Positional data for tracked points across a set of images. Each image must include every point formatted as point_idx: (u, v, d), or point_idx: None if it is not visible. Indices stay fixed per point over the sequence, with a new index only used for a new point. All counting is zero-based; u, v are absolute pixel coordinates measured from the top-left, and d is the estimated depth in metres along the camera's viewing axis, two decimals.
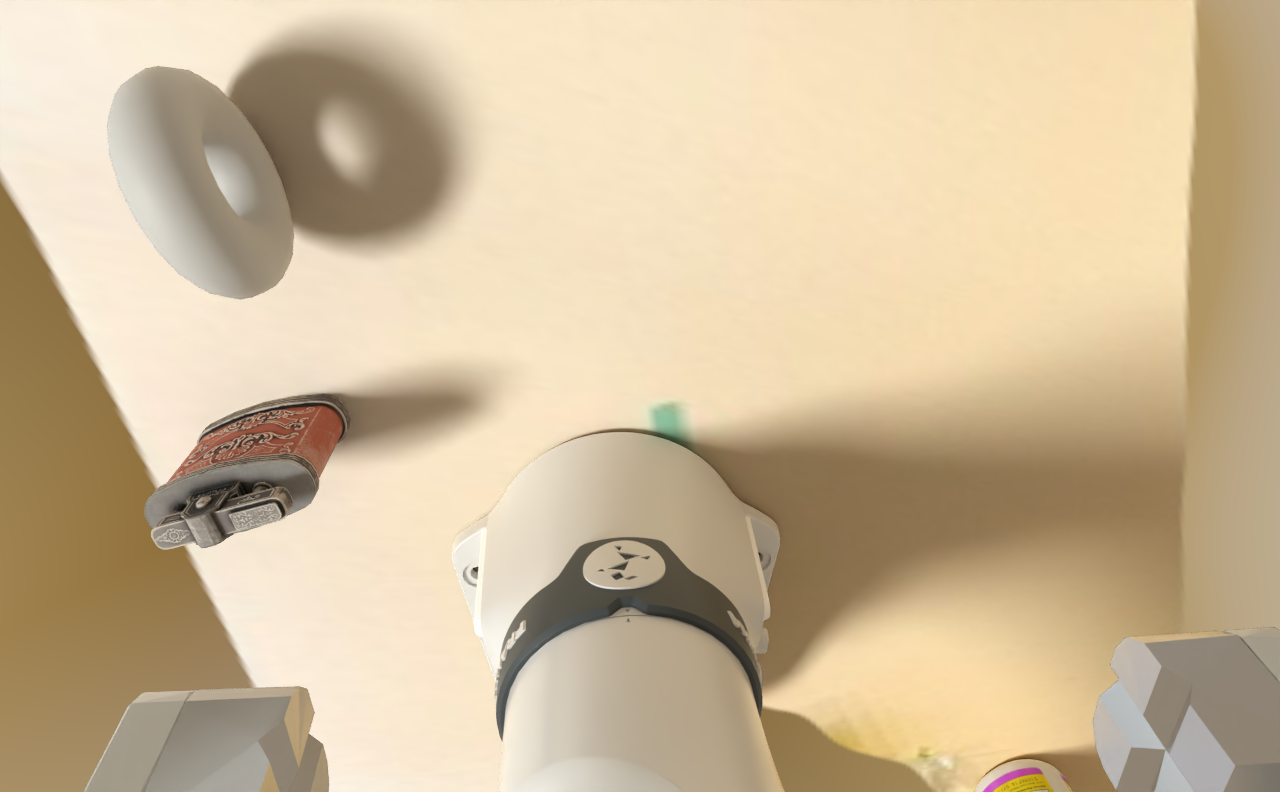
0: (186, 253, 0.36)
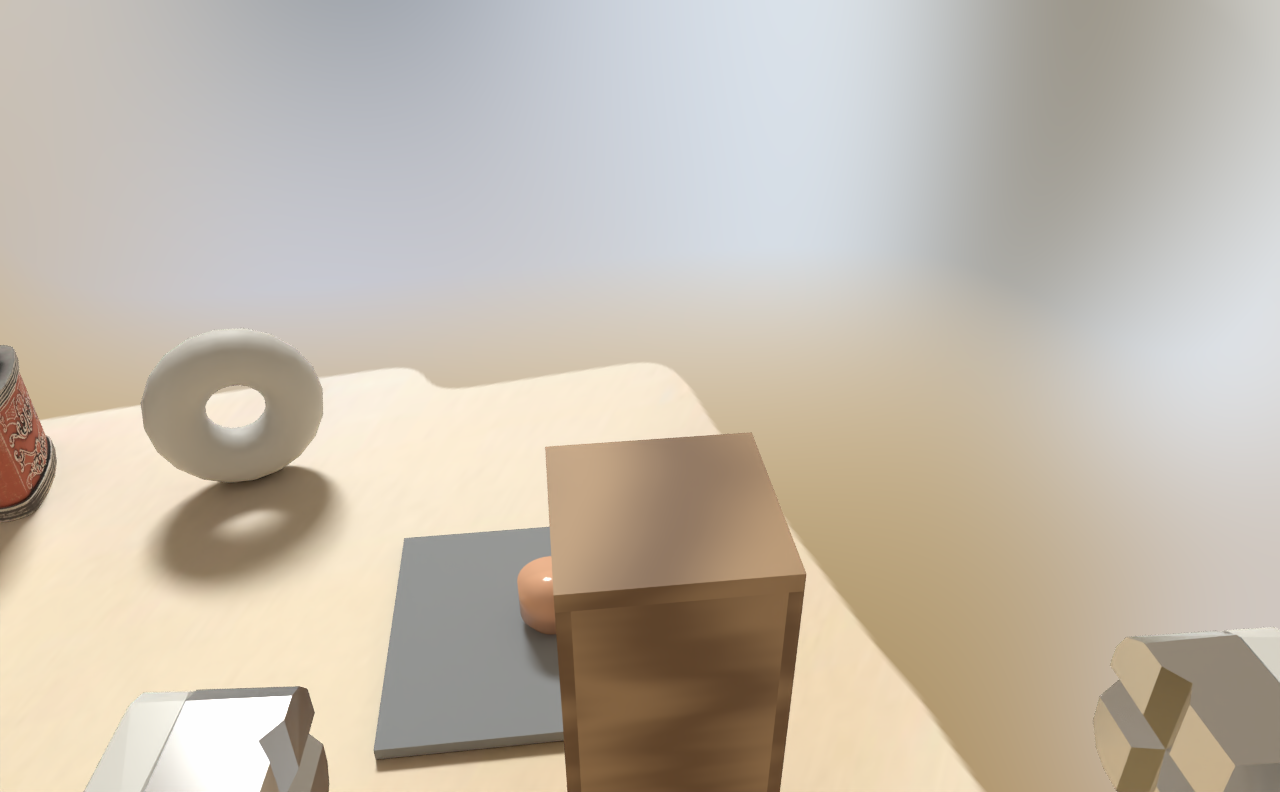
0: (183, 343, 0.53)
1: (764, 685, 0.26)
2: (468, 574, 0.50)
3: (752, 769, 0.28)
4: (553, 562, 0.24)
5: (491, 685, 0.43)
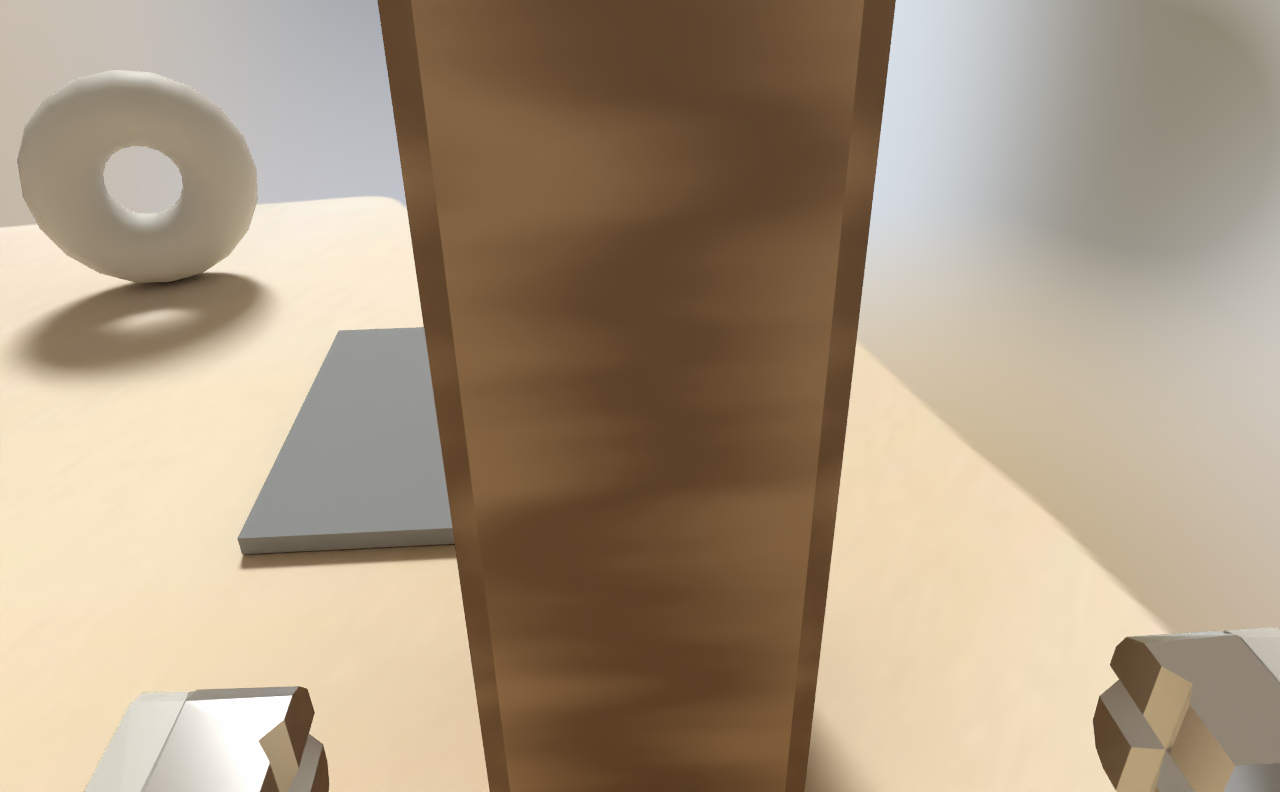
0: (71, 81, 0.41)
1: (819, 147, 0.13)
2: (414, 364, 0.37)
3: (792, 382, 0.14)
4: None
5: (421, 473, 0.31)
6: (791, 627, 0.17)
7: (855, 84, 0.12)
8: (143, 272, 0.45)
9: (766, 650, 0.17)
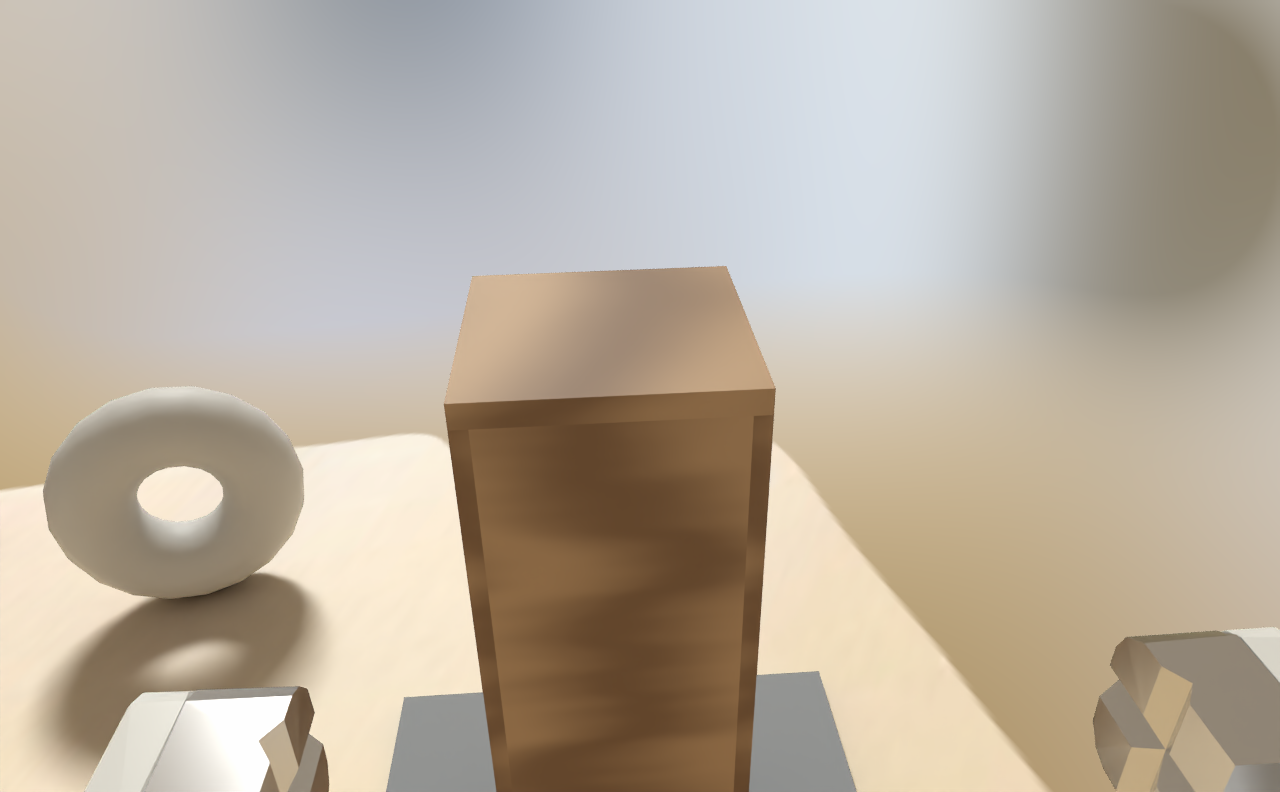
0: (103, 407, 0.37)
1: (727, 553, 0.20)
2: None
3: (717, 675, 0.22)
4: (452, 374, 0.19)
5: None
6: None
7: (747, 522, 0.20)
8: (180, 593, 0.40)
9: None
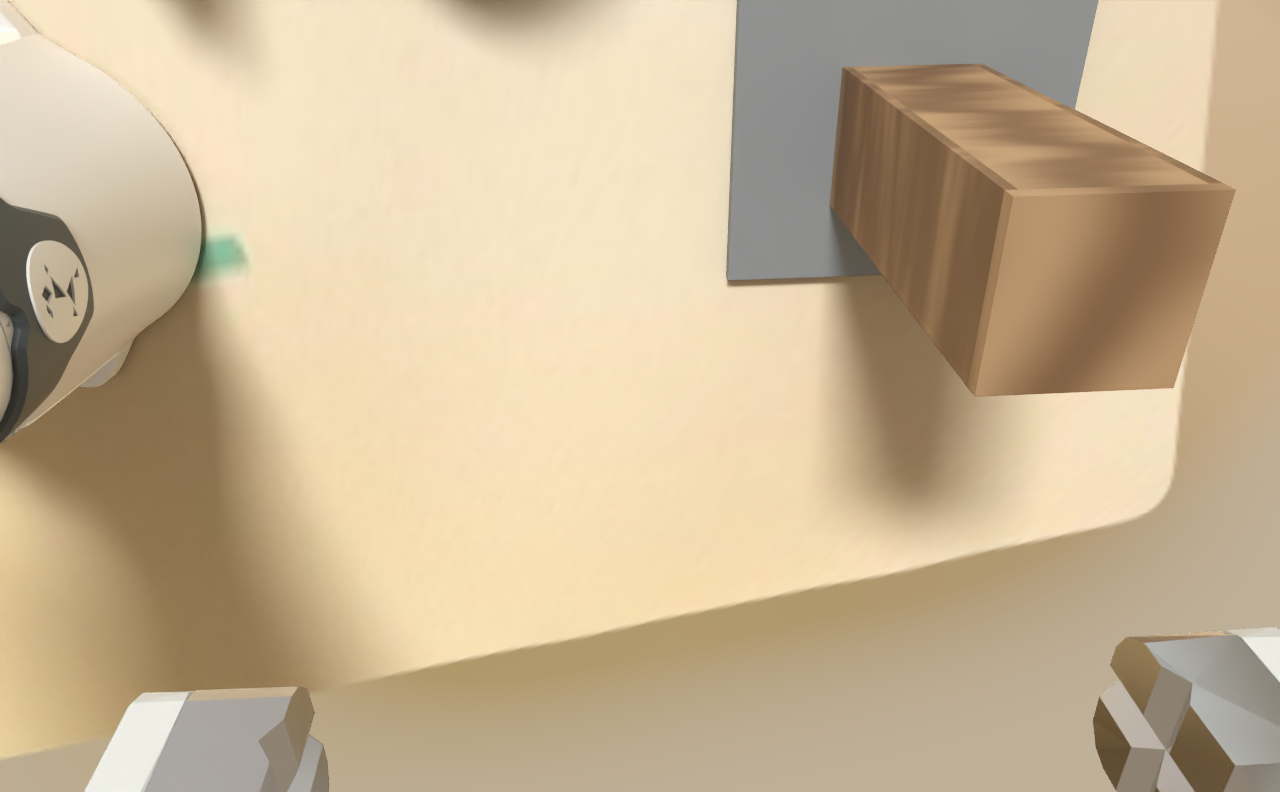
0: None
1: None
2: (818, 56, 0.42)
3: None
4: (982, 362, 0.29)
5: (832, 219, 0.46)
6: None
7: None
8: None
9: None
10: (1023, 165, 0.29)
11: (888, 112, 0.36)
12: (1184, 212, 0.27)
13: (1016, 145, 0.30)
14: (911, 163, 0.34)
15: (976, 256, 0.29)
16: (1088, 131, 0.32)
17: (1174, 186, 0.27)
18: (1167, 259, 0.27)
